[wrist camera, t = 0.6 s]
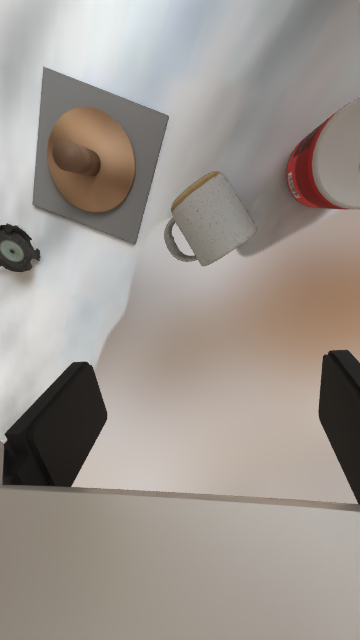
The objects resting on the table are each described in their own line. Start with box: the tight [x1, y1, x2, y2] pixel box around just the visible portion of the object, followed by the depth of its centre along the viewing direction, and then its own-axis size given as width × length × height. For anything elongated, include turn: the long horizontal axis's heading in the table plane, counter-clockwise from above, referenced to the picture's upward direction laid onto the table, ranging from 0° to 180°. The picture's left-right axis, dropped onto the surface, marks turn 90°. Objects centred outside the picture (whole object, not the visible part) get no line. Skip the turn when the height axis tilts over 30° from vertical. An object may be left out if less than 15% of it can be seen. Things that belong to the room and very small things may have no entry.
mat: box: [33, 67, 169, 244], centre depth 33 cm, size 15×15×1 cm
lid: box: [47, 107, 136, 212], centre depth 29 cm, size 11×11×6 cm
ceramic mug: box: [164, 171, 257, 266], centre depth 31 cm, size 11×8×8 cm
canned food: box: [286, 98, 360, 209], centre depth 25 cm, size 8×8×11 cm
